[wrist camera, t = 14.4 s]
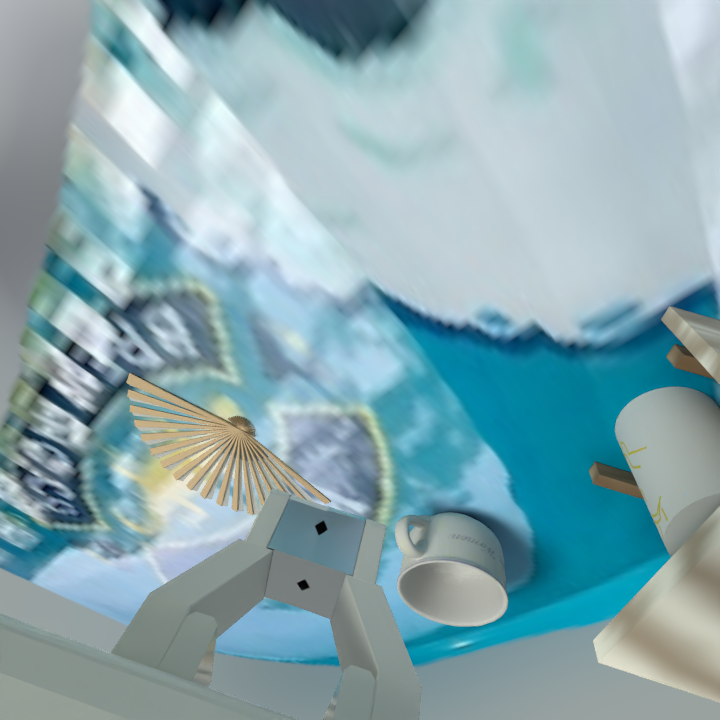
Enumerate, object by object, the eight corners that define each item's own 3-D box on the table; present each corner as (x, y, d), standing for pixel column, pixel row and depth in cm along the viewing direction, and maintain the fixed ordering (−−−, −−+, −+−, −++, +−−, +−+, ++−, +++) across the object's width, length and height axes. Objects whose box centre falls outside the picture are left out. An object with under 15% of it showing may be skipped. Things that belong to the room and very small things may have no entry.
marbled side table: (669, 306, 35) (813, 448, 21) (827, 350, 35) (1090, 530, 20) (555, 484, 46) (598, 662, 31) (675, 521, 45) (776, 721, 30)
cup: (596, 417, 41) (640, 521, 31) (690, 369, 37) (775, 470, 27) (645, 474, 43) (701, 590, 33) (739, 434, 39) (835, 552, 29)
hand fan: (142, 348, 48) (104, 432, 56) (138, 351, 47) (99, 436, 55) (347, 481, 52) (285, 543, 59) (346, 486, 51) (283, 549, 58)
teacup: (517, 554, 51) (525, 624, 45) (430, 571, 56) (425, 637, 49) (466, 465, 47) (466, 527, 40) (375, 491, 51) (361, 551, 44)
